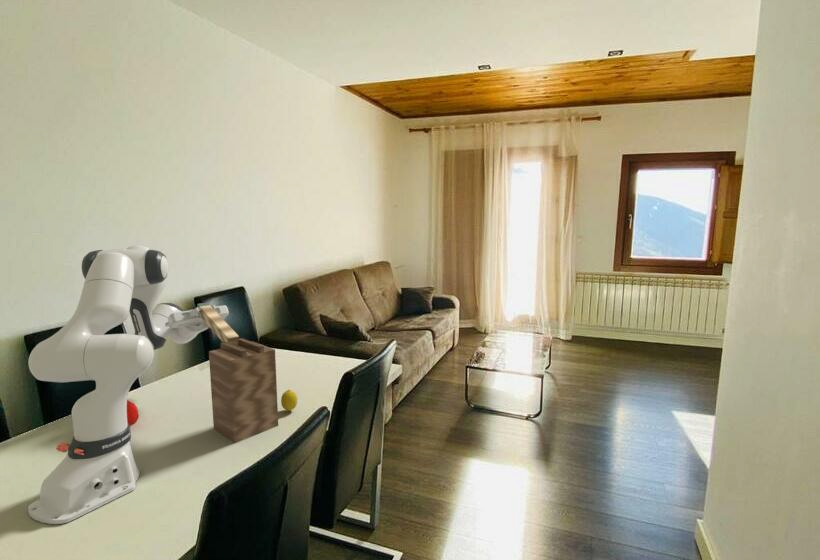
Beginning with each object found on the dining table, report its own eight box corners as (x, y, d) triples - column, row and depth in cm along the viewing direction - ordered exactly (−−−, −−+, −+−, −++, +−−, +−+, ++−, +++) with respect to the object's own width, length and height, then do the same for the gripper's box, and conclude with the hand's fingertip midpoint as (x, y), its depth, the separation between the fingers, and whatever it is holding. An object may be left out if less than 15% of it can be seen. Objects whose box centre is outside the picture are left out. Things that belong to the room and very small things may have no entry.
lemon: (293, 415, 149) (292, 393, 148) (278, 413, 150) (277, 392, 149) (300, 408, 154) (299, 387, 153) (286, 407, 155) (285, 386, 154)
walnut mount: (234, 443, 130) (229, 354, 126) (213, 428, 139) (208, 345, 135) (278, 425, 141) (274, 343, 137) (256, 413, 150) (252, 335, 147)
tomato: (78, 439, 132) (75, 412, 131) (108, 420, 144) (106, 396, 143) (121, 440, 131) (119, 413, 130) (148, 421, 144) (146, 396, 143)
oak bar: (237, 345, 142) (239, 336, 141) (227, 347, 140) (228, 338, 139) (206, 310, 156) (207, 302, 155) (196, 312, 153) (197, 303, 152)
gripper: (161, 318, 153) (172, 304, 144) (217, 310, 168) (231, 296, 160) (165, 335, 152) (177, 321, 143) (222, 324, 167) (236, 311, 158)
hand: (206, 308), depth 152 cm, fingers closed on oak bar, 3 cm apart
